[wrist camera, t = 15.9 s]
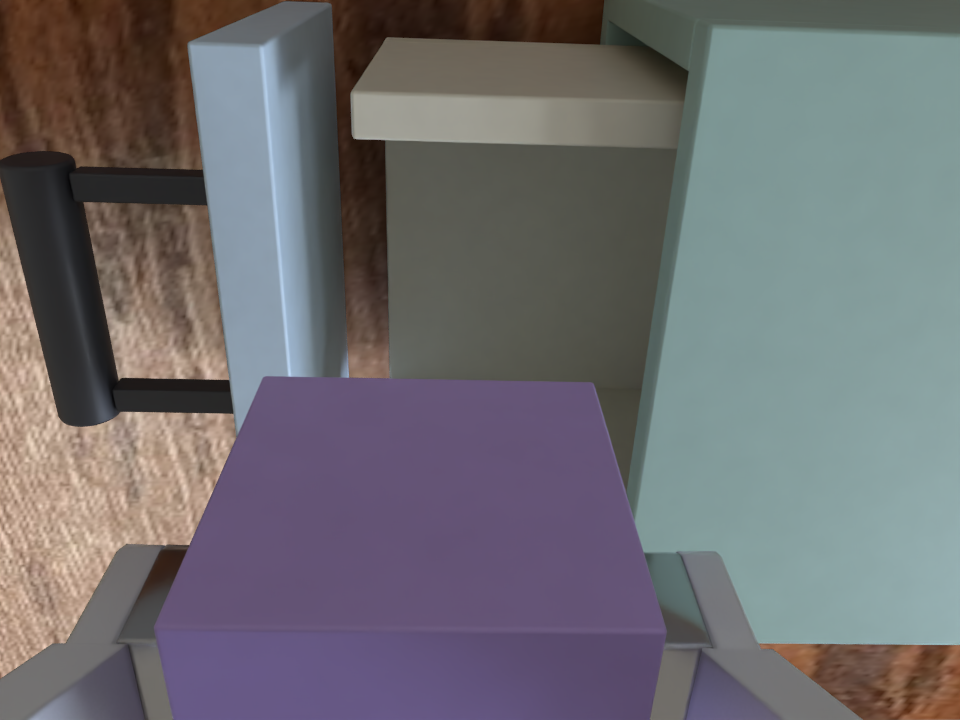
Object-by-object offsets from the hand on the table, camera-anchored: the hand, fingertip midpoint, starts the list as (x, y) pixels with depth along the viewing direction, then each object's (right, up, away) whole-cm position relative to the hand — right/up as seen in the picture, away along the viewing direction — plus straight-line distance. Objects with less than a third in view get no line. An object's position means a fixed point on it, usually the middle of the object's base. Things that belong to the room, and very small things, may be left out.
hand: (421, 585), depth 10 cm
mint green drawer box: (+11, +7, +13) cm, 18 cm away
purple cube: (0, +1, +1) cm, 2 cm away
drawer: (0, +6, +12) cm, 14 cm away
